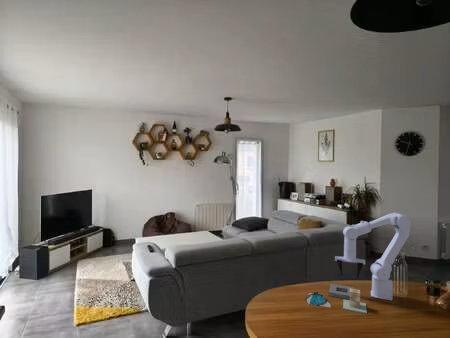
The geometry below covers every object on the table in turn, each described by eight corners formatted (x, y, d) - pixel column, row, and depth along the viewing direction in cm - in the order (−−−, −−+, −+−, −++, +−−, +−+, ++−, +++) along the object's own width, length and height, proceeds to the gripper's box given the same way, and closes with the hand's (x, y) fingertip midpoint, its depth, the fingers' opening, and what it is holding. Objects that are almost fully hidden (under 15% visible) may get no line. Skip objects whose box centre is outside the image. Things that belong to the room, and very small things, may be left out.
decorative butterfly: (302, 290, 148) (321, 285, 148) (305, 302, 148) (324, 298, 148) (307, 299, 138) (328, 294, 138) (310, 312, 138) (331, 307, 138)
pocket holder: (354, 291, 157) (354, 287, 157) (354, 300, 146) (354, 296, 146) (330, 287, 161) (330, 283, 161) (328, 296, 150) (328, 292, 150)
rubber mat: (365, 304, 142) (365, 303, 142) (366, 313, 133) (366, 312, 133) (343, 300, 146) (343, 299, 146) (342, 309, 136) (342, 308, 136)
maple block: (359, 304, 140) (359, 289, 140) (359, 308, 136) (360, 293, 136) (349, 302, 142) (349, 288, 142) (349, 306, 138) (349, 291, 138)
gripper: (334, 250, 152) (334, 276, 152) (365, 253, 147) (365, 280, 147) (335, 246, 159) (334, 272, 159) (364, 250, 153) (364, 276, 153)
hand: (349, 276), depth 153 cm, fingers open, 7 cm apart
